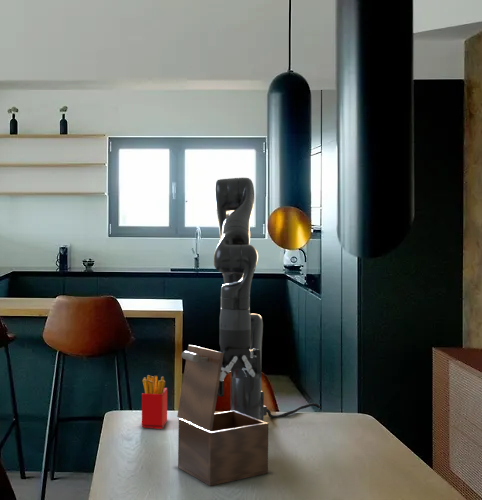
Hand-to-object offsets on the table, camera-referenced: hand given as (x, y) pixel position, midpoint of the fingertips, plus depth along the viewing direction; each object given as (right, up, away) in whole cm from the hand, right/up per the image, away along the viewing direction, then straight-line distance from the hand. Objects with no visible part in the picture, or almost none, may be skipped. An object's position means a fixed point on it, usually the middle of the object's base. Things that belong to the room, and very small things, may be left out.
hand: (234, 393), depth 153 cm
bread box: (-3, -18, -2) cm, 18 cm away
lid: (-8, +3, -6) cm, 10 cm away
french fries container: (-21, -18, +36) cm, 45 cm away
